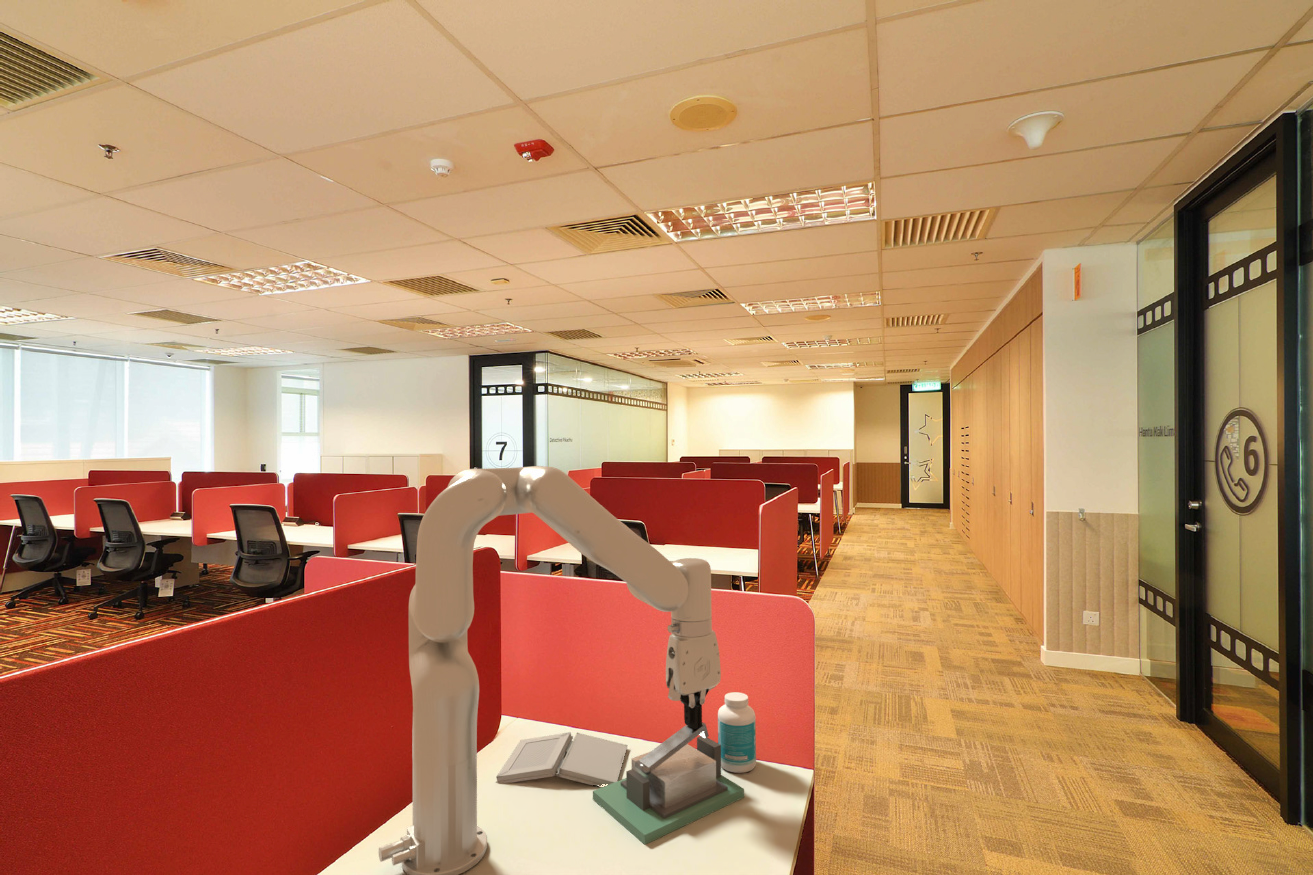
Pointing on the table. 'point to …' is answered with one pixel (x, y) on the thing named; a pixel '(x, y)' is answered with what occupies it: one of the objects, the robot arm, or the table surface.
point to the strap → (669, 748)
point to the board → (653, 821)
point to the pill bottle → (737, 734)
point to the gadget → (565, 759)
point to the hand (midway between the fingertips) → (693, 725)
